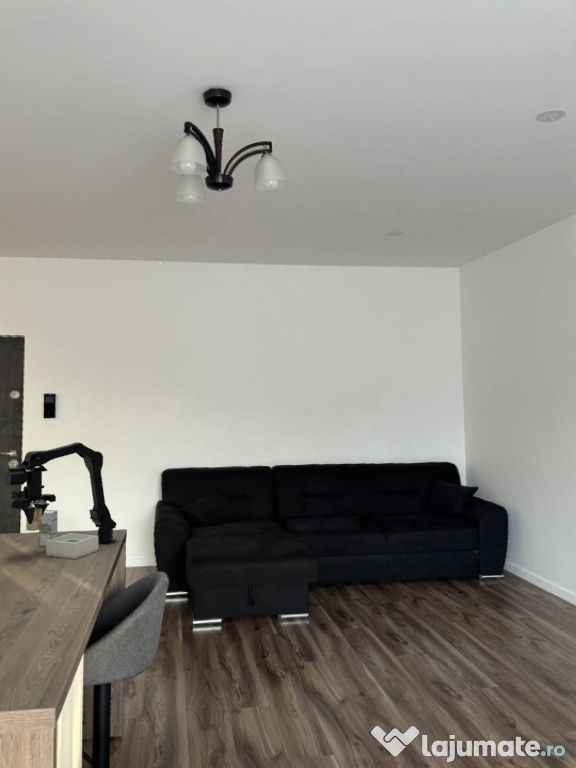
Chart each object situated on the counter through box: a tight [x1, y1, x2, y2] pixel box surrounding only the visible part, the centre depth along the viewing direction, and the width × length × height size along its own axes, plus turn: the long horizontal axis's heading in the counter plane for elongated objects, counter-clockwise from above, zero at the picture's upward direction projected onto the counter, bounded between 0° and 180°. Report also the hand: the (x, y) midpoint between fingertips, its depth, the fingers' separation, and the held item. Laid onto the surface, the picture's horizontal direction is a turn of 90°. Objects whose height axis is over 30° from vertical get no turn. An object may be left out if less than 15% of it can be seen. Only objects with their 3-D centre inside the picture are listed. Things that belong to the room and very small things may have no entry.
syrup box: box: [38, 509, 59, 547], centre depth 266 cm, size 6×6×14 cm
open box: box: [45, 532, 99, 560], centre depth 252 cm, size 14×14×6 cm
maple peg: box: [25, 508, 42, 532], centre depth 249 cm, size 4×4×8 cm
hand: (34, 523), depth 249 cm, fingers closed on maple peg, 4 cm apart
